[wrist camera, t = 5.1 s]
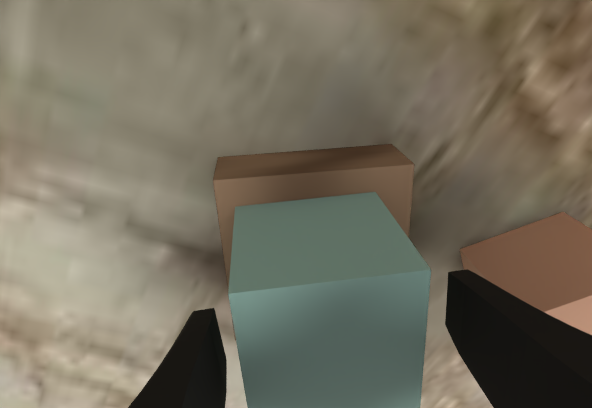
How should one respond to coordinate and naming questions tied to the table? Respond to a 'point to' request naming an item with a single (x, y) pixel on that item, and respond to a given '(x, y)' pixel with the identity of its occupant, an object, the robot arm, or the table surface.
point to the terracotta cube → (541, 267)
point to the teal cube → (328, 304)
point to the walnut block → (311, 181)
